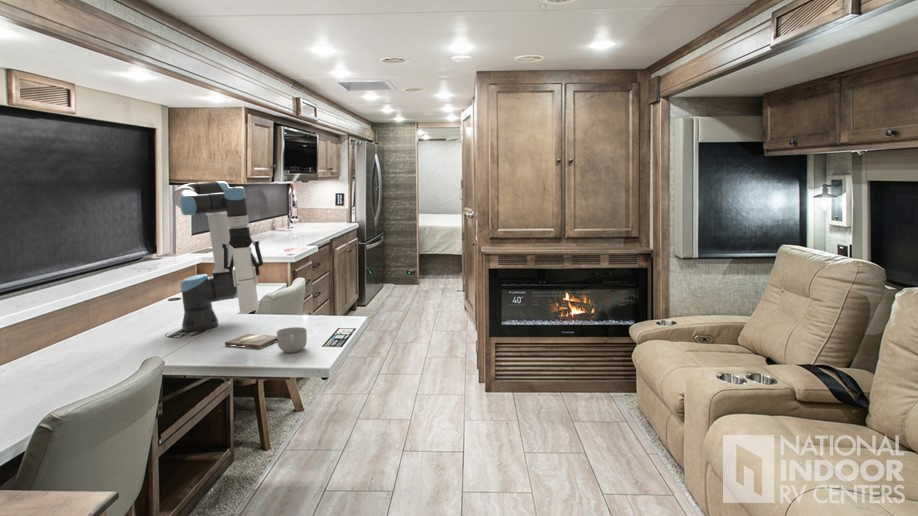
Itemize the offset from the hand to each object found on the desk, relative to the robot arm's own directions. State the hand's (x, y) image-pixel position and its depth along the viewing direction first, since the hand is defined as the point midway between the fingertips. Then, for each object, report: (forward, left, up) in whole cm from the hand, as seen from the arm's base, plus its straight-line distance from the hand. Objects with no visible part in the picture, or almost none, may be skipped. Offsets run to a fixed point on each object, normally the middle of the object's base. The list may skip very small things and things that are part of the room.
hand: (246, 284), depth 238 cm
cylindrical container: (0, 0, -10) cm, 10 cm away
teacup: (+24, +8, -24) cm, 35 cm away
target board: (0, 0, -24) cm, 24 cm away
